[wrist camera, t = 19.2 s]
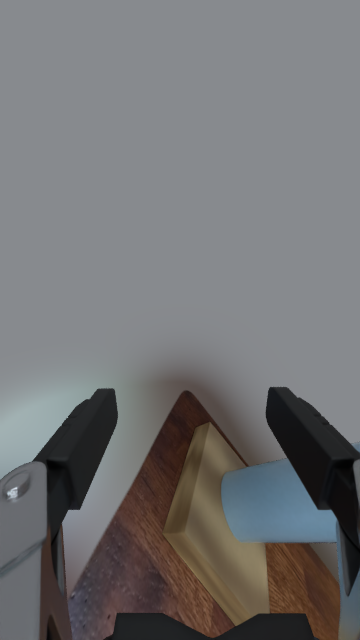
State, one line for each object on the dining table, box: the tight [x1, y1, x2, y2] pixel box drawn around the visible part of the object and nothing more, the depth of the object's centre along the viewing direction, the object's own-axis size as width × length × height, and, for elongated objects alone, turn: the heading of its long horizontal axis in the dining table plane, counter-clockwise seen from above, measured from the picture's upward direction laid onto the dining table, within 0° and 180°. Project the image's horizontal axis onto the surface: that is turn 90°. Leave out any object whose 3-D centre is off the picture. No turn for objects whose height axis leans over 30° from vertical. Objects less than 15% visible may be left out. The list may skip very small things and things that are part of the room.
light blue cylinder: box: [221, 442, 360, 543], centre depth 16 cm, size 6×6×19 cm
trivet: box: [162, 422, 270, 626], centre depth 21 cm, size 12×12×3 cm
